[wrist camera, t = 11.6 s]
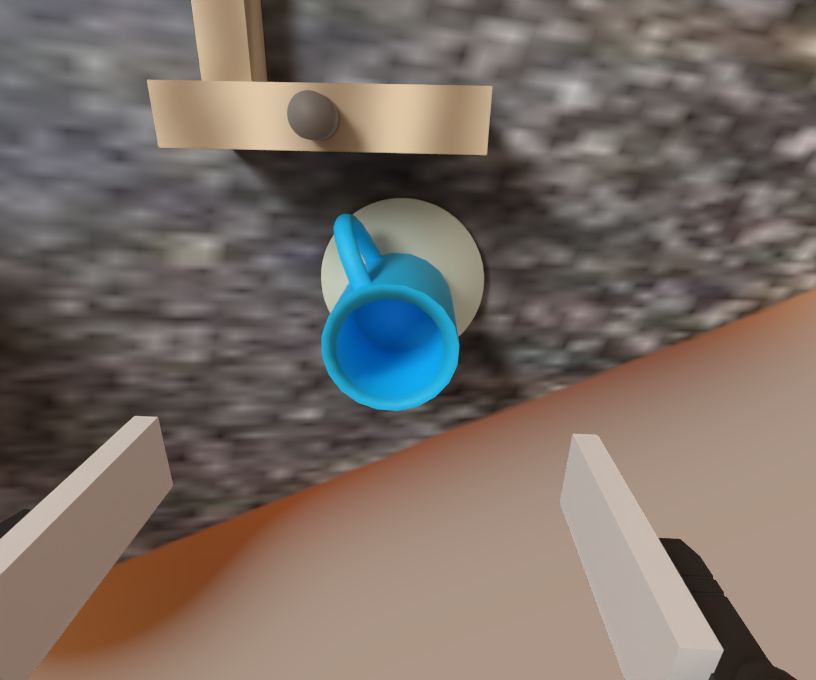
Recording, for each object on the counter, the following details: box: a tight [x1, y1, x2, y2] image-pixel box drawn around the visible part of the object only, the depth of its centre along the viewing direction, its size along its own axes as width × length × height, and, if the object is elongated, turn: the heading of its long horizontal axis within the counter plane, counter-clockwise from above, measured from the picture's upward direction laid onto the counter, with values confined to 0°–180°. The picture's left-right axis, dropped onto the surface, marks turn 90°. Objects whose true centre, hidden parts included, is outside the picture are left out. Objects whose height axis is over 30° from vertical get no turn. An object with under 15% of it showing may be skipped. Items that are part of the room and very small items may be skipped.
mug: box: [322, 214, 459, 411], centre depth 30 cm, size 12×8×8 cm
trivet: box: [321, 197, 484, 337], centre depth 34 cm, size 12×12×1 cm
